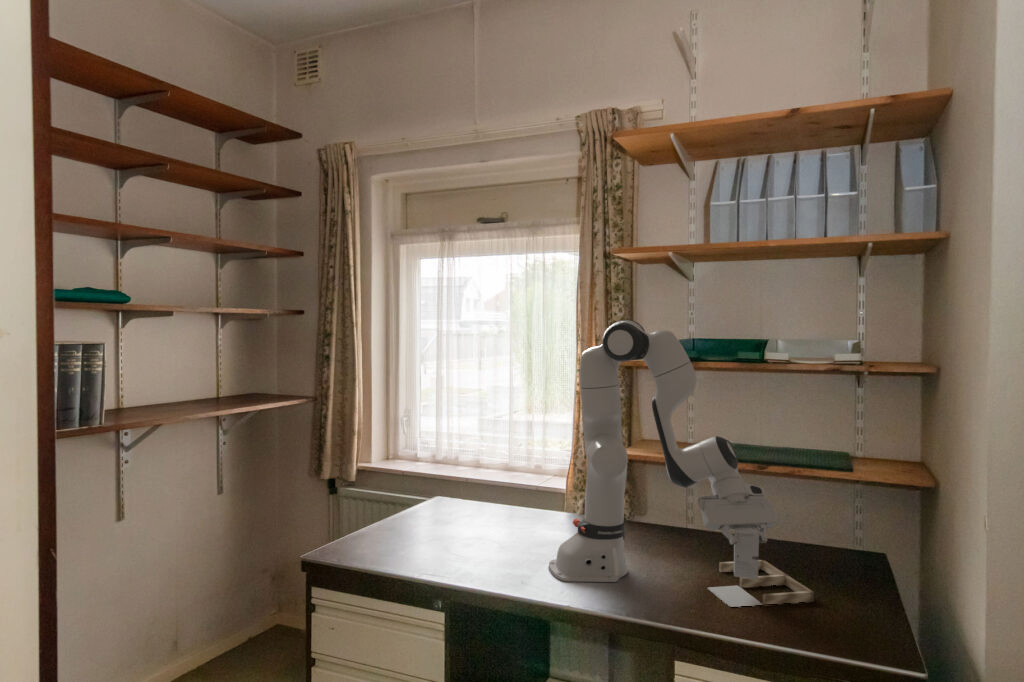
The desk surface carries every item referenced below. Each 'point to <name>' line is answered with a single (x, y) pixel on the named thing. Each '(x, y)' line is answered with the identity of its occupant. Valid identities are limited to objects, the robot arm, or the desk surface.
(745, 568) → the skincare box
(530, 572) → the desk surface
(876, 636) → the desk surface
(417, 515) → the desk surface
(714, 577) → the desk surface
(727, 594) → the grey mat
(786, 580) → the lane rack
